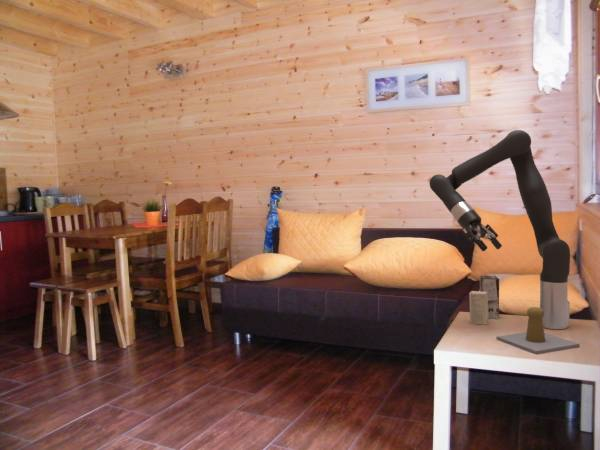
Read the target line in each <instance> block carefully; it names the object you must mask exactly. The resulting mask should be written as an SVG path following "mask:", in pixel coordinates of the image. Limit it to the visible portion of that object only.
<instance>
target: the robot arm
mask: <svg viewBox="0 0 600 450" xmlns="http://www.w3.org/2000/svg"><path fill="white" fill-rule="evenodd" d="M531 145H532V139H531V136H530V135H529V133H528V132H526V131H524V130H521V129H516V130H512V131H510V132H509V133H507V135H506V136H505V137H504V138H503V139H501V140H500V141H499V142H498V143H497V144H495V145H493V146H492V147H489V148H488V149H487V150H486V151H483V152H481V153H479V154H477V155H475V156H473V157H471V158H469V159H467V160H465V161H464V162H462V163H460V164H458V165H457V166H455V167H453V168H452V169H451V174H450V175H448V176H444V174H435V175H433V176H432V177H431V178H430V180H429V188H430V189H431V191H432V192H433V193H435V195H436V196H437V197H438V198H439V200H441V201H442V203H443V205H444V206H445V208H446V209H447V210H448V211H449V213H450V214H451V215H452V218H453V219H454V220H455V221H456V222H457V223H458V225H459V226H460V227H461V229H462V230H461V232H462V234H463V235H464V236H465V238H466V239H467V240H468V242H469V243H471V244H474V245H476V246H477V247H478V248H479V250H480V251H482V252H486V250H488V246H487V244H486V243H485V242H484V241H483V240H482V239H484V240H487V241H489V242H490V243H491V244H492V245H493V247H494V248H495V249H496V250H500V249H501V248H502V246H503V245H502V243H501V242H500V241H499V240H498V239H497V238H498V237H499V234H498V233H497V232H496V231H495V230H494V229H493V227H491V224H488V223H487V224H486V225H484V224H482V217H481V216H480V215H479V214H478V213H477V211H476V210H475V209H474V208H473V206H472V205H471V204H469V203H468V202H467V201H466V200H465V199H464V197H463V196H462V195H461V194H460V193H459V192H458V191H457V190H458V189H459V188H460V187H461V186H462V185H463V184H464V183H467V182H469V181H470V180H472V179H474V178H475V177H477V176H479V175H480V174H482V173H484V172H486V171H488V169H490V168H492V167H494V166H495V165H497V164H500V163H502V162H504V161H506V160H508V159H509V160H510V162H511V164H512V167H513V169H514V172H515V177H516V182H517V188H518V192H519V195H520V198H521V201H522V204H523V207H524V209H525V212H526V215H527V216H528V219H529V222H530V225H531V227H532V229H533V232H534V236H535V241H536V246H537V251H538V254H539V256H540V257H541V258H542V269H541V272H540V274H539V308H541V309H543V311H544V316H543V318H542V320H543V327H544V328H545V329H550V330H566V329H567V328H569V327H570V301H569V300H568V296H569V295H568V292H569V291H568V289H569V288H568V284H569V283H568V279H569V276H570V271H571V250H570V247H569V244H568V243H567V242H566V241H565V240H563V239H561V238H560V236H559V234H558V232H557V230H556V227H555V224H554V220H553V210H552V201H551V197H550V195H549V191H548V189H547V186H546V183H545V181H544V179H543V177H542V175H541V173H540V171H539V169H538V167H537V165H536V163H535V160H534V156H533V153H532V152H533V151H532V148H531Z"/></svg>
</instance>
